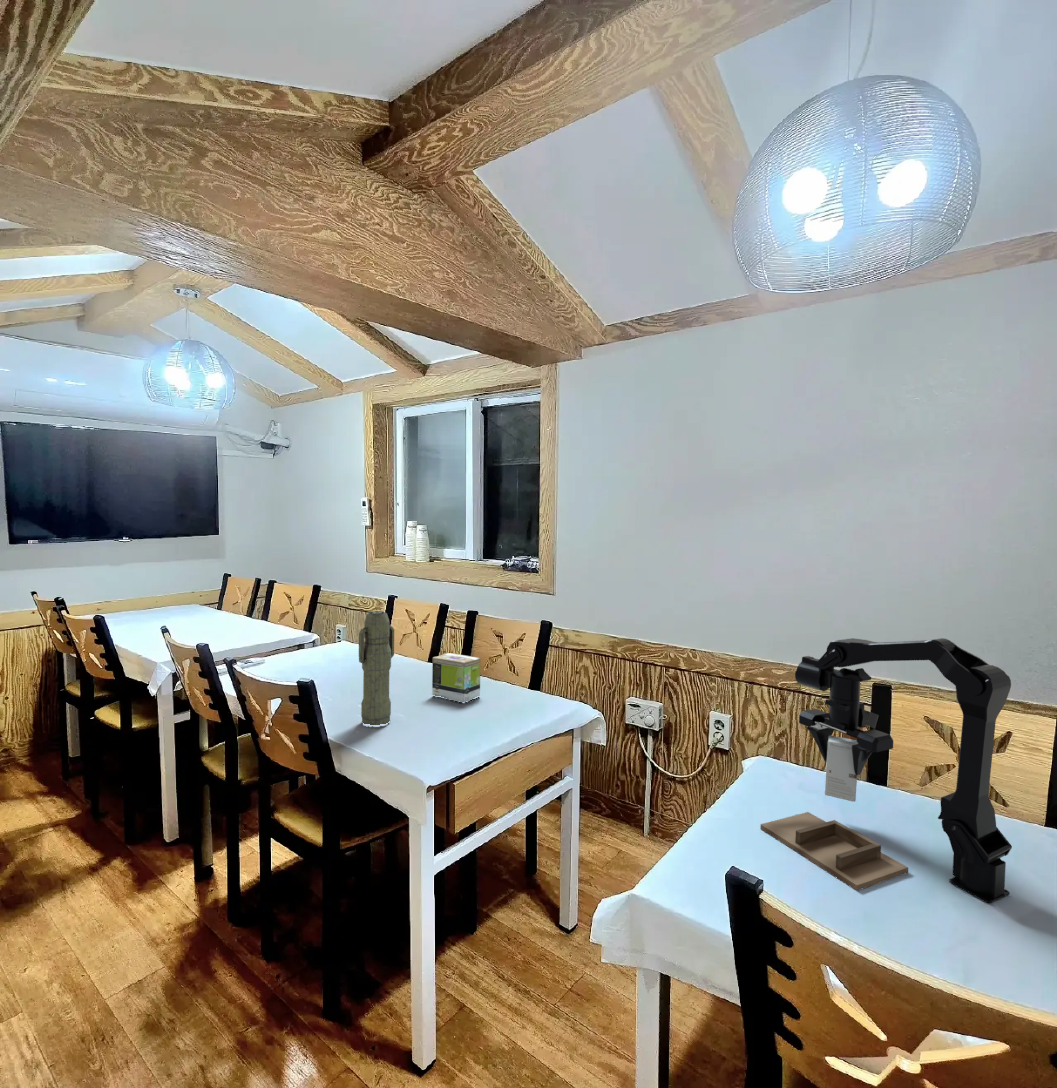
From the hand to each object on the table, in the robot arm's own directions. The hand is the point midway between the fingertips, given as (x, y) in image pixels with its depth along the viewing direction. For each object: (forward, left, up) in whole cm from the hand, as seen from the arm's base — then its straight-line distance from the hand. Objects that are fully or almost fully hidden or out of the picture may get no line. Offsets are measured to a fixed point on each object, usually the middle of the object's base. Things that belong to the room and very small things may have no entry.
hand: (841, 767), depth 125 cm
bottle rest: (-7, +12, -12) cm, 18 cm away
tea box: (+114, +53, -12) cm, 126 cm away
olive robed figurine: (+97, +84, -12) cm, 129 cm away
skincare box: (0, 0, -6) cm, 6 cm away
